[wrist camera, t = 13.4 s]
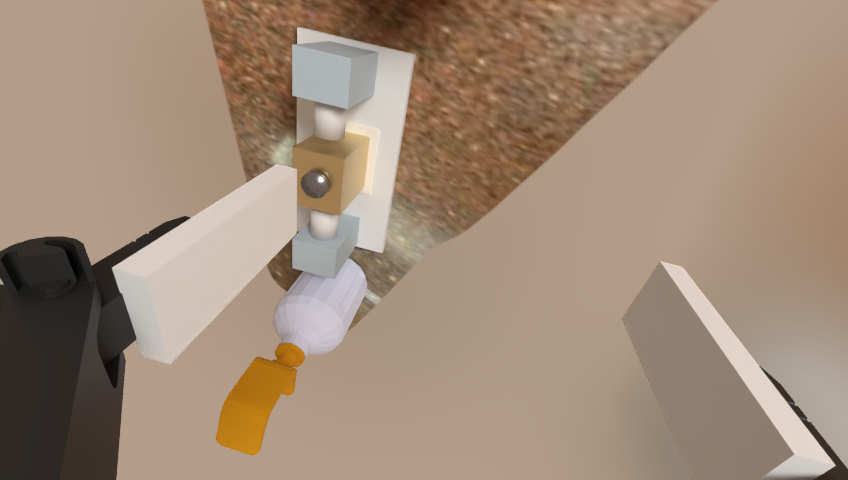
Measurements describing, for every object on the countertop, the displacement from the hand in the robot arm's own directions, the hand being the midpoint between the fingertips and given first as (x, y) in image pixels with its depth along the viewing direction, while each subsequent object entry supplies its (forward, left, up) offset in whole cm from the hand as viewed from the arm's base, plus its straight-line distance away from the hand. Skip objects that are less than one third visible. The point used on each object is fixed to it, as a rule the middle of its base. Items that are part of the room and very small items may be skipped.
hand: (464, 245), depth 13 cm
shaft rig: (+9, -14, -29) cm, 33 cm away
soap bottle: (+28, -14, -29) cm, 43 cm away
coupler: (+9, -14, -28) cm, 32 cm away
